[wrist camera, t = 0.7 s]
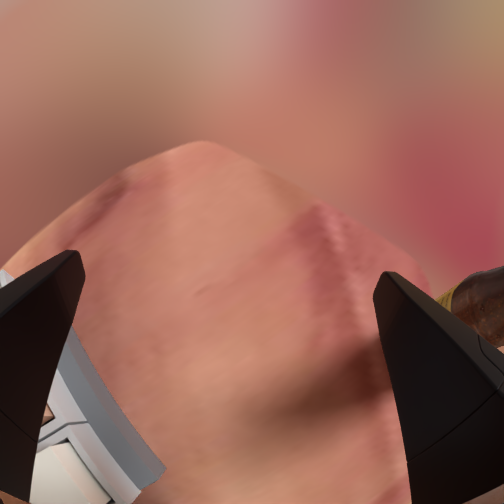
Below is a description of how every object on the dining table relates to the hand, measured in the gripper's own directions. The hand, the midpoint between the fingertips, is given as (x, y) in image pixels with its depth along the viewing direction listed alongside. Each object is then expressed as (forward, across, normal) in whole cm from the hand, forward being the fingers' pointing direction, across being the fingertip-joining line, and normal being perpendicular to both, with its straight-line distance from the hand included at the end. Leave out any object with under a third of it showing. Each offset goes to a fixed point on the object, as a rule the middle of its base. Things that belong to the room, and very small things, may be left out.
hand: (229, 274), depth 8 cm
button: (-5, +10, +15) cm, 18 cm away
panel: (+3, +14, +18) cm, 24 cm away
